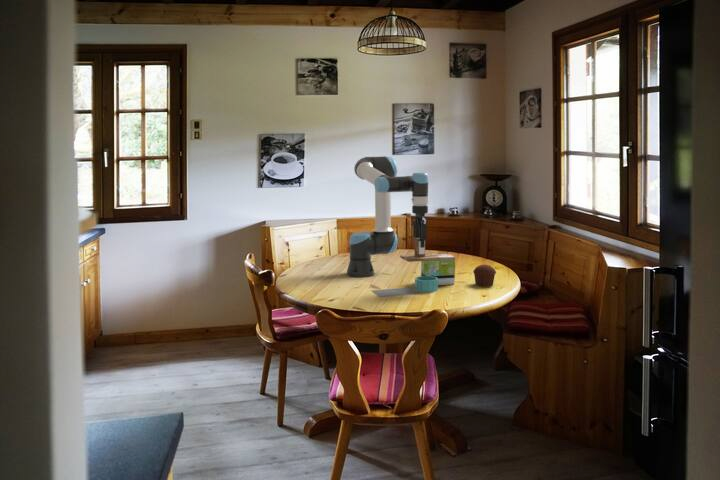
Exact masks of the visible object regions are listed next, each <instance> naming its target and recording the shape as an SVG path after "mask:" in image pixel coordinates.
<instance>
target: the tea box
mask: <svg viewBox="0 0 720 480" xmlns="http://www.w3.org/2000/svg"><path fill="white" fill-rule="evenodd" d="M433 255H436V256H438V257H440V260H430V261H420V263H421V265H420V266H421V267H420V276H432V277H437V278H438V286H447V285H449V286H450V285H451V286H452V285H455V278H456V256H454V255H452V254H449V253H440V254H439V253H438V254H435V253H434V254H433Z"/></svg>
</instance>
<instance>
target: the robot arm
mask: <svg viewBox="0 0 720 480" xmlns="http://www.w3.org/2000/svg"><path fill="white" fill-rule="evenodd" d="M397 166H398V165H397V162H396V161H395V159H394V158H393V156H392V157H391V156H386V155H385V156H384V155H383V156H364V157H361V158H359V159H358V160H357V161H356V163H355V165H354V167H353V168H354V174H355V176H356V177H358V178H359V179H361V180H365V181H367V182H369V183H370V184H372V185H373V186H374V201H375V202H374V209H375V211H374V213H375V214H374V215H375V216H374V217H375V222H374V223H375V227H374V228H373V230H372V233H371V232H370V231H359V232H354V233H352V234H351V235H350V236H349V263H348V266H347V270H346V276H348V277H355V278H357V277H358V278H365V277H371V276H374V275H375V269H374V267H373V263H372V256H375V255H377V256H378V255H388V254H389V255H390V254H393V253H394V252H395V251H396V249H397V248H398V235H397V233H396V232H395V231H394V229H393V228H392V226H391V225H392V216H391V213H392V212H391V210H392V208H391V207H392V203H391V201H392V200H391V198H392V197H391V196H392V195H391V193H407V192H409V193H411V197H412V198H411V201H412V203H411V204H412V206H411V213H412V214H414V216H413V217H412V220H413V221H412V222H413V223H412V224H413V225H412V227H413V229H412V230H413V231H412V232H413V234H412V235H413V236H412V237H413V238H414V239H415V238H420V240H418V241H419V254H426V241H427V239H428V238H427V236H428V219H426V214H428V212H429V206H428V205H429V174H428V173H427V172H414V173H412V175H406V176H397V174H398V167H397Z"/></svg>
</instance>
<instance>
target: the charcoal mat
mask: <svg viewBox="0 0 720 480" xmlns="http://www.w3.org/2000/svg"><path fill="white" fill-rule="evenodd" d="M371 292H372V293H373V294H375V295H376V296H378V297H379V298H387V297H390V298H391V297H399V296H400V297H401V296H409V295H410V296H412V295H419V294H420V292H419V293H418V291H416V290H415V289H412V288H410V287H399V288H388V289H387V288H386V289H373V290H371Z"/></svg>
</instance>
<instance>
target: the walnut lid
mask: <svg viewBox="0 0 720 480" xmlns="http://www.w3.org/2000/svg"><path fill="white" fill-rule="evenodd" d="M418 240H420V238H415V237H414V251H413V252H414V254H413V253H412V254H400V255H399V258H400V259H402V260H404V261H406V262H408V263H412V262H421V261H430V260H440V257H438V256H436V255H434V254H433V253H425V254H419V241H418Z"/></svg>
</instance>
